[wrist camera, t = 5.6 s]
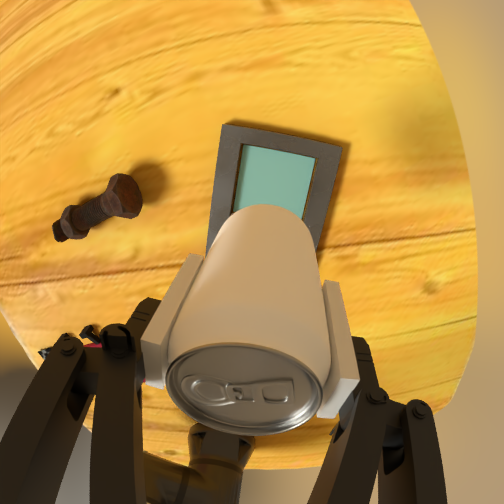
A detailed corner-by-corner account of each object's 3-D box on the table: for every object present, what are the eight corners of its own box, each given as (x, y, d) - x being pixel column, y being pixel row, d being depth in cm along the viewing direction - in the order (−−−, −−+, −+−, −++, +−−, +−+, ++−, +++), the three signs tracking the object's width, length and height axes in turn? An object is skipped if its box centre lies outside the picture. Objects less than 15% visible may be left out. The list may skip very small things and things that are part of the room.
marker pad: (300, 223, 36) (300, 224, 36) (233, 210, 36) (233, 211, 36) (315, 158, 32) (315, 158, 32) (243, 144, 32) (243, 144, 32)
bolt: (70, 218, 41) (141, 179, 37) (74, 249, 40) (147, 216, 36) (41, 214, 35) (111, 169, 31) (44, 248, 35) (116, 210, 31)
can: (208, 207, 20) (126, 332, 9) (310, 197, 19) (341, 327, 8) (226, 291, 22) (183, 435, 12) (315, 285, 21) (330, 438, 11)
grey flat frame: (293, 318, 42) (293, 324, 41) (202, 301, 42) (200, 306, 41) (340, 146, 31) (342, 147, 30) (224, 123, 31) (222, 124, 30)
